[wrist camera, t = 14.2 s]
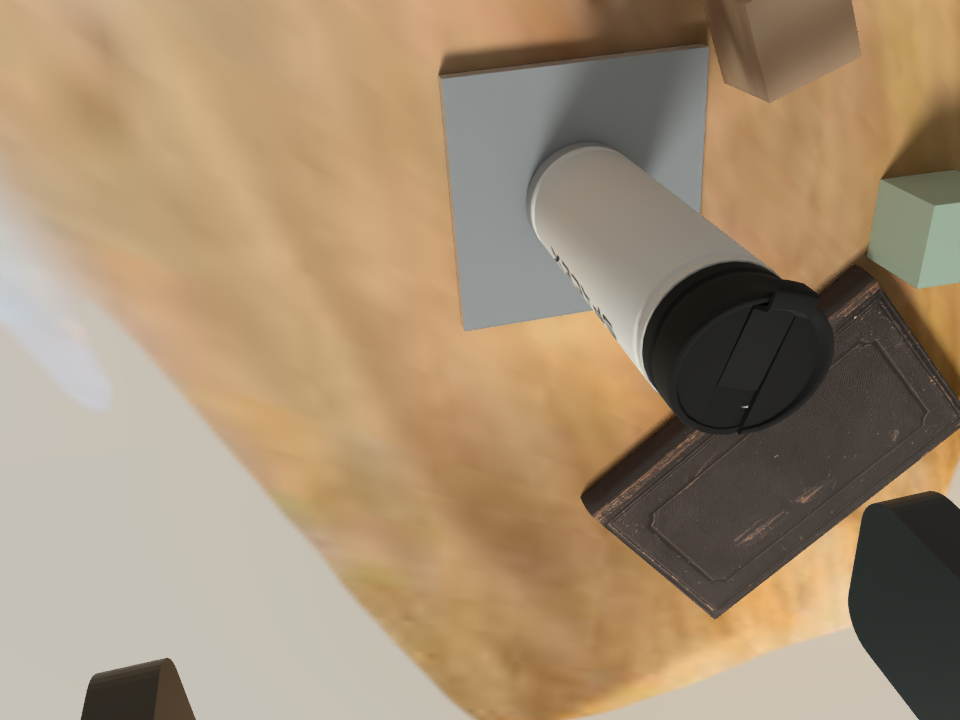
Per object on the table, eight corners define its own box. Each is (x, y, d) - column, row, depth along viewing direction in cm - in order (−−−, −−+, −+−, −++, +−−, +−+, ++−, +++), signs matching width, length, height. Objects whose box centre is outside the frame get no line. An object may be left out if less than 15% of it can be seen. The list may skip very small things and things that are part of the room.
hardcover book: (950, 402, 63) (972, 419, 61) (702, 598, 67) (715, 620, 65) (850, 260, 55) (872, 274, 53) (576, 492, 59) (587, 513, 57)
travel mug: (653, 147, 47) (877, 302, 30) (613, 260, 50) (799, 461, 33) (545, 122, 45) (720, 273, 28) (511, 241, 48) (651, 445, 31)
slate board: (438, 74, 44) (441, 79, 43) (700, 43, 46) (709, 46, 45) (461, 323, 51) (464, 331, 50) (688, 286, 53) (695, 293, 52)
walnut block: (698, -8, 45) (745, 4, 41) (787, -54, 45) (843, -46, 40) (723, 82, 47) (769, 103, 43) (807, 39, 47) (861, 56, 43)
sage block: (879, 178, 52) (934, 205, 48) (954, 169, 53) (1014, 195, 49) (865, 256, 55) (916, 288, 51) (937, 246, 56) (993, 277, 51)
